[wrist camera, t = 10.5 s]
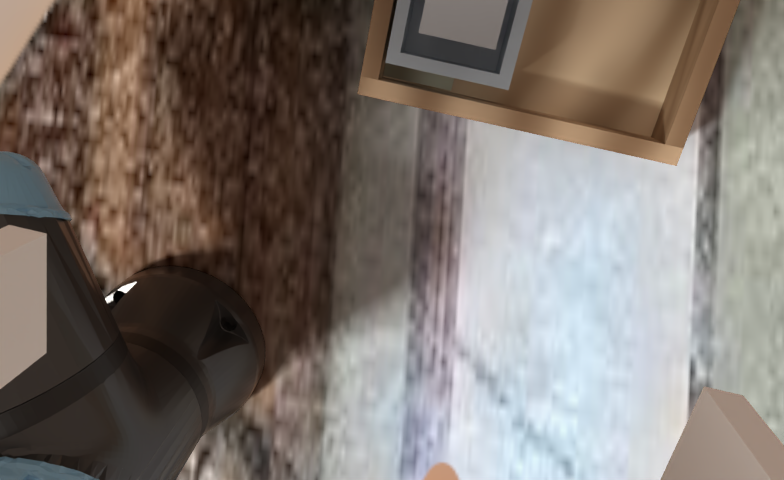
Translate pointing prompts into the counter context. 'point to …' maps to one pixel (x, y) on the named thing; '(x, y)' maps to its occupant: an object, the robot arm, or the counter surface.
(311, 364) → the counter surface
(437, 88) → the bay
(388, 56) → the grey square-based post
